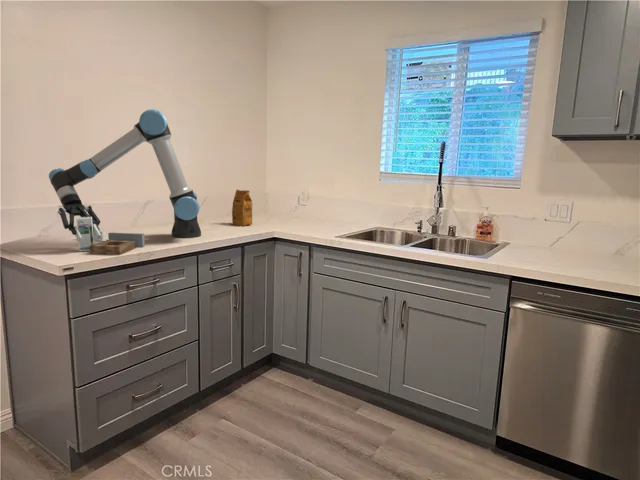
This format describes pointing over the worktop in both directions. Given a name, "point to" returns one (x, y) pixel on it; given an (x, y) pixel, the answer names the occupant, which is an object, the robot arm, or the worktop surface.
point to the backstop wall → (128, 238)
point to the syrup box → (85, 233)
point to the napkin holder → (103, 236)
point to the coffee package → (242, 208)
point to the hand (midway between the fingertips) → (89, 238)
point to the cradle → (112, 247)
